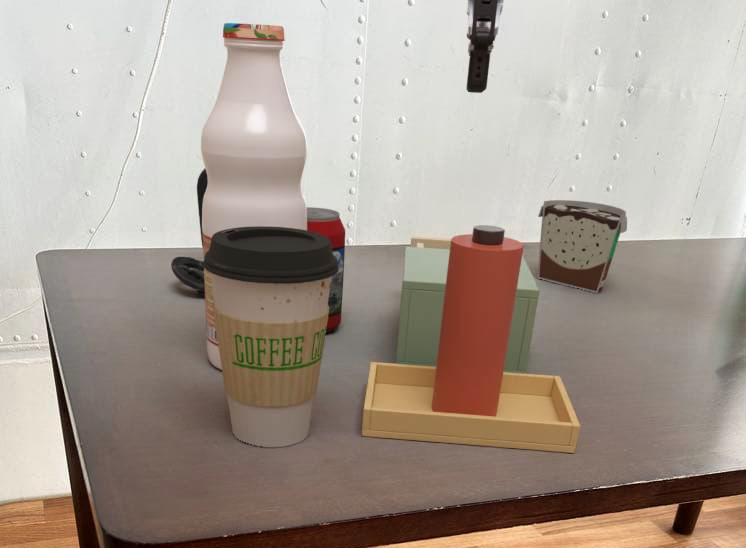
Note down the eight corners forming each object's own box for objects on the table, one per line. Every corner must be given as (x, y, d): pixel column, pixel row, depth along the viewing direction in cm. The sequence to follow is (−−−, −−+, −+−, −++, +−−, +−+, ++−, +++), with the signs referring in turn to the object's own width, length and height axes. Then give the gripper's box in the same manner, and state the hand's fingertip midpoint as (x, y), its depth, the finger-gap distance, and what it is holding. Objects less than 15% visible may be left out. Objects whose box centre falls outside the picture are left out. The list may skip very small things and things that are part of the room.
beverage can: (282, 337, 87) (284, 218, 80) (277, 318, 92) (277, 205, 86) (345, 337, 88) (351, 219, 81) (335, 318, 93) (340, 206, 87)
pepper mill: (494, 400, 73) (522, 223, 65) (498, 426, 68) (529, 238, 60) (431, 395, 73) (451, 218, 65) (431, 420, 68) (453, 233, 60)
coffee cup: (289, 469, 61) (293, 261, 53) (184, 436, 65) (173, 239, 57) (352, 425, 68) (364, 237, 60) (254, 398, 72) (253, 219, 64)
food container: (629, 288, 112) (647, 211, 106) (607, 296, 108) (625, 216, 102) (550, 270, 119) (564, 196, 113) (527, 276, 115) (540, 200, 109)
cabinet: (398, 324, 92) (405, 246, 88) (510, 333, 92) (523, 254, 87) (395, 369, 80) (403, 280, 76) (524, 379, 79) (539, 290, 75)
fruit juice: (187, 363, 79) (169, 19, 64) (245, 339, 86) (241, 23, 71) (267, 385, 75) (267, 24, 60) (321, 358, 82) (334, 28, 67)
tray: (555, 400, 75) (560, 376, 74) (574, 453, 66) (580, 425, 64) (369, 386, 76) (370, 361, 75) (361, 436, 66) (363, 408, 65)
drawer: (406, 283, 105) (411, 227, 101) (495, 289, 104) (504, 234, 101) (404, 326, 89) (410, 262, 86) (508, 334, 89) (519, 270, 85)
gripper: (533, -91, 82) (510, 92, 90) (524, -65, 95) (504, 94, 102) (458, -93, 83) (442, 89, 91) (459, -67, 95) (444, 91, 103)
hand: (475, 91), depth 96 cm, fingers open, 8 cm apart
